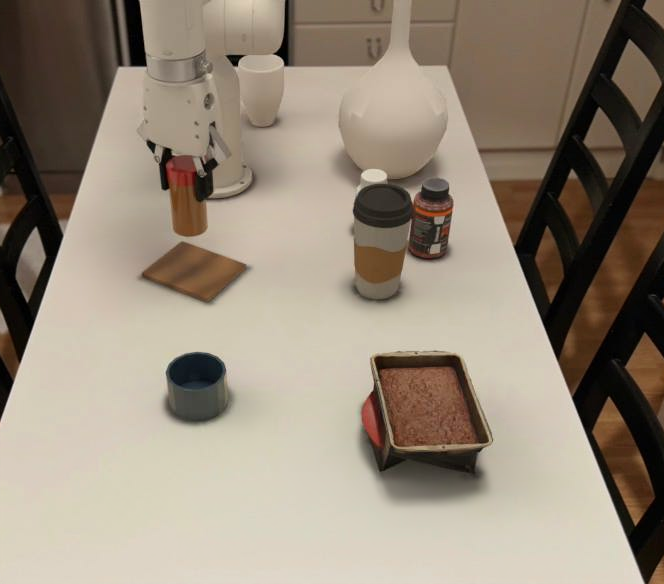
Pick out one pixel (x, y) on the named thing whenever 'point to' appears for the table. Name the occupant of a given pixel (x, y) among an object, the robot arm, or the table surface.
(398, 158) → the vase
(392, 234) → the coffee cup
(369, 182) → the pill bottle
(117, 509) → the table surface
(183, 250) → the wooden board
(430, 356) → the baking dish
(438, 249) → the supplement bottle
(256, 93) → the mug
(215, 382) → the cup
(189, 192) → the jar
